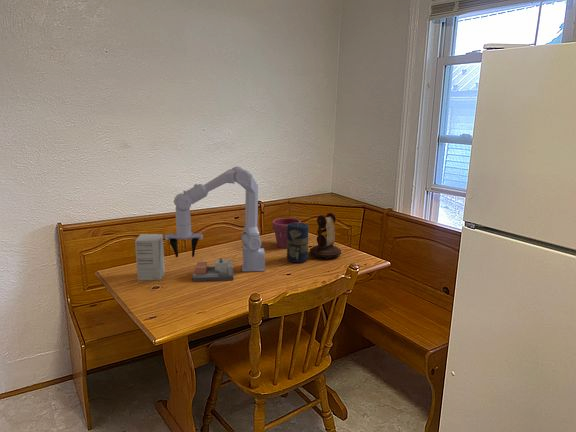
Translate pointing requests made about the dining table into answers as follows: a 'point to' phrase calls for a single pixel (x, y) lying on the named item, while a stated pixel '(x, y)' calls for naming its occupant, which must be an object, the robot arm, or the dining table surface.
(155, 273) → the supplement box
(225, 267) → the housing
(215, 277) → the press bed
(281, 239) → the plant pot
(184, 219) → the robot arm
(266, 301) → the dining table surface
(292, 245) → the canister
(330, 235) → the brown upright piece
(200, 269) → the tall terracotta prism
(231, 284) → the dining table surface
